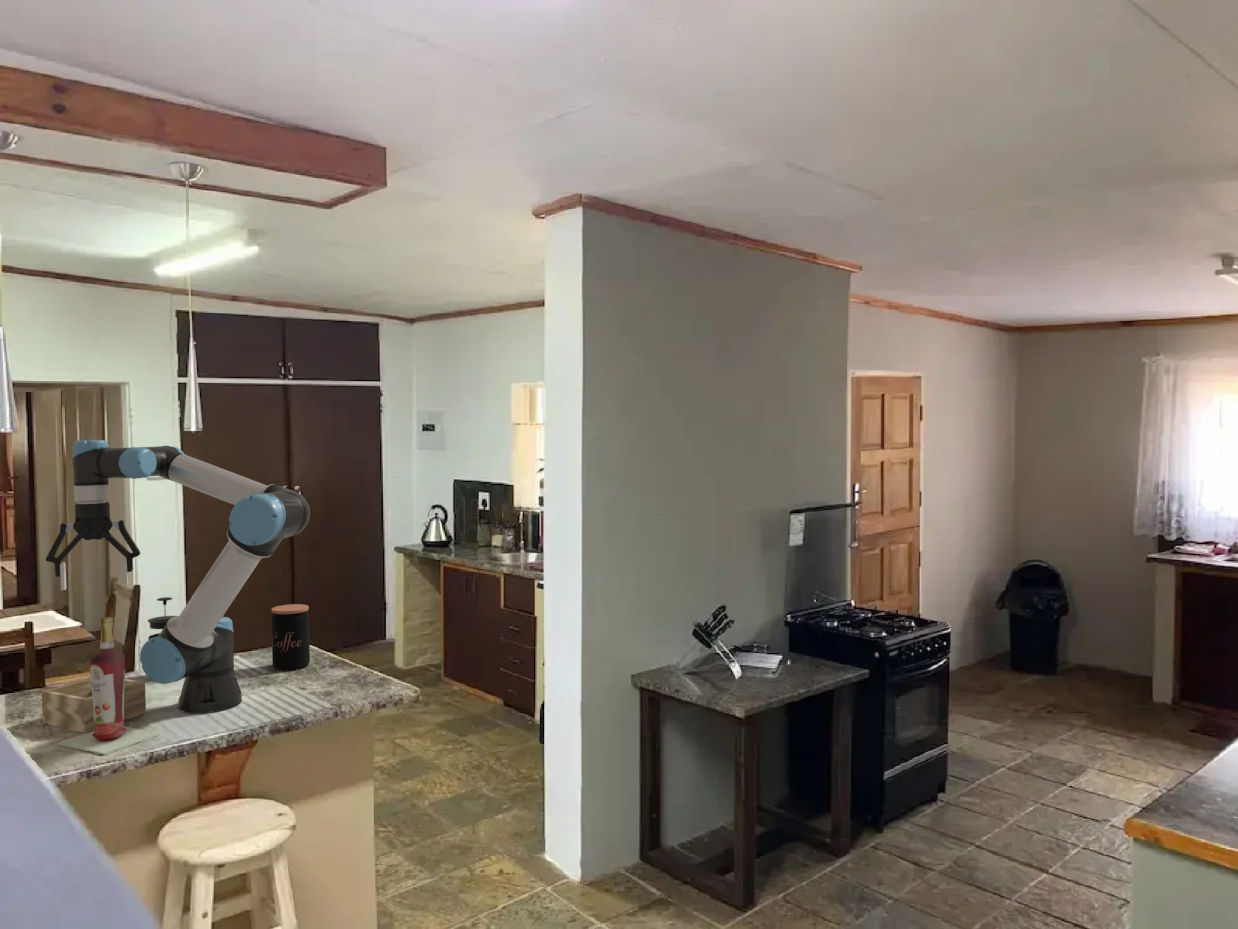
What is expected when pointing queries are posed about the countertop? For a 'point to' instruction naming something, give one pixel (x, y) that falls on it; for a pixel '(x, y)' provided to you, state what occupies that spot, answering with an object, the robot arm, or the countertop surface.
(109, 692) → the liquor
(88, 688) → the crate
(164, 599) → the french press
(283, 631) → the coffee jar
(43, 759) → the countertop surface
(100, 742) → the mat
